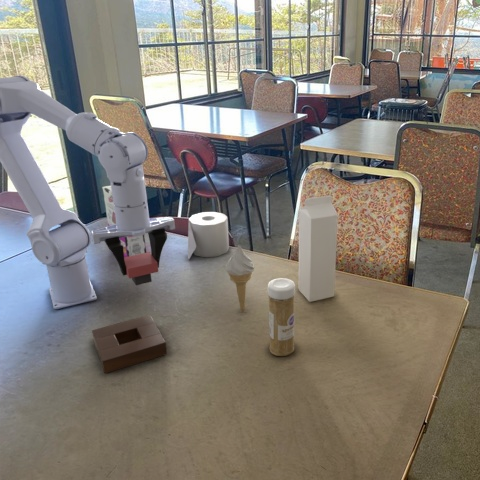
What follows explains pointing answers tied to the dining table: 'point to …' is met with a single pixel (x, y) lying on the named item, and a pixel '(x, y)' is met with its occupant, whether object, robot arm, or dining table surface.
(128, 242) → the candy bar box
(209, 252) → the toilet tissue
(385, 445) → the dining table surface
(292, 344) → the sprinkles bottle
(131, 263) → the back pad
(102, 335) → the block
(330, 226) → the milk
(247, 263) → the ice cream cone
